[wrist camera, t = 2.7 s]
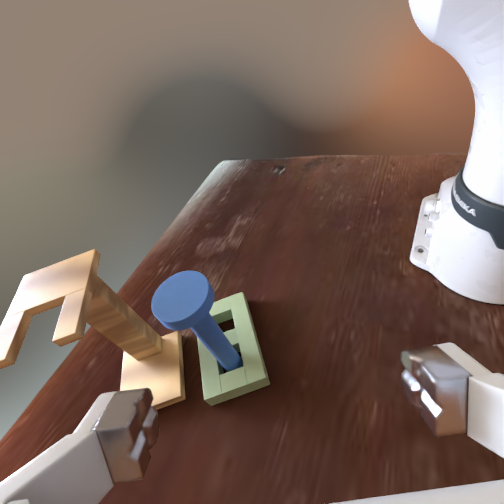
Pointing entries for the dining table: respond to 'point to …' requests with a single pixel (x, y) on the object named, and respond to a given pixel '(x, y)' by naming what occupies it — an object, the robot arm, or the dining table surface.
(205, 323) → the peg
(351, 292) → the dining table surface
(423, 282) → the dining table surface
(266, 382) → the holder
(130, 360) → the stand
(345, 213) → the dining table surface
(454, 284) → the robot arm
